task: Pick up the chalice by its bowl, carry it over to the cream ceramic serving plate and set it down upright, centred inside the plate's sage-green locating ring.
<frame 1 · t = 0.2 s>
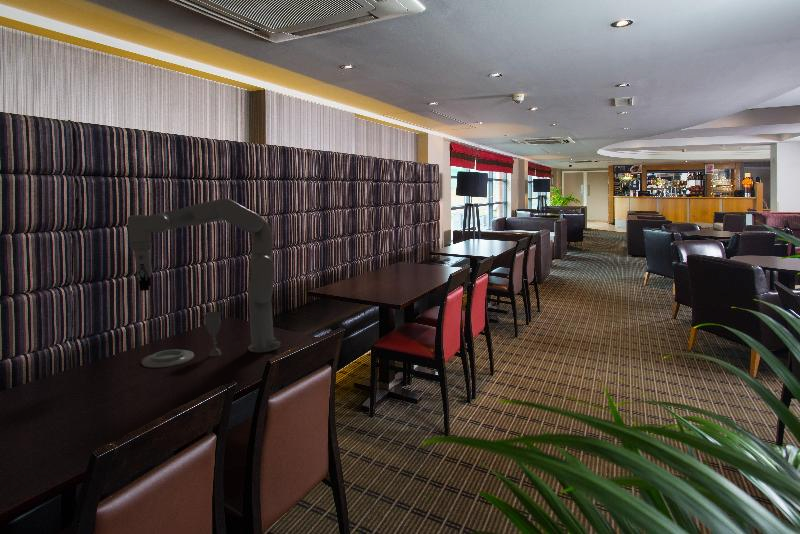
hand: (145, 288, 204), 31 cm above the table, tool pointing down, fingers open, 9 cm apart
plate: (168, 359, 211), on the table
chalice: (215, 354, 216), on the table
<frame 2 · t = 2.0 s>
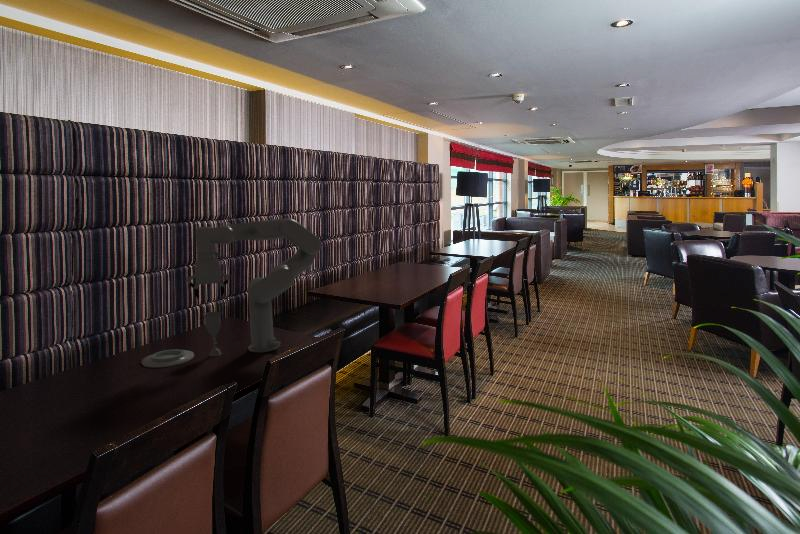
hand: (210, 296, 212), 25 cm above the table, tool pointing down, fingers open, 9 cm apart
nothing on the table moved.
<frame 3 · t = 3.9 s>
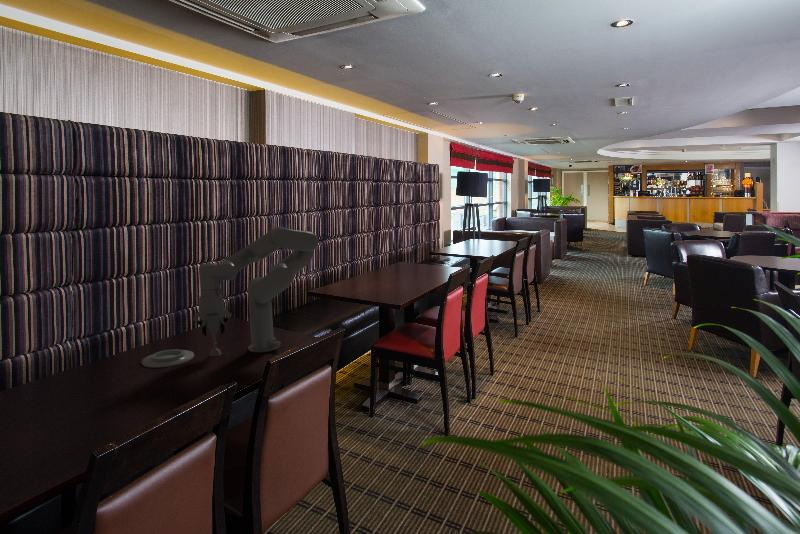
hand: (213, 333, 215), 9 cm above the table, tool pointing down, fingers closed on chalice, 6 cm apart
chalice: (215, 354, 216), on the table, touching gripper
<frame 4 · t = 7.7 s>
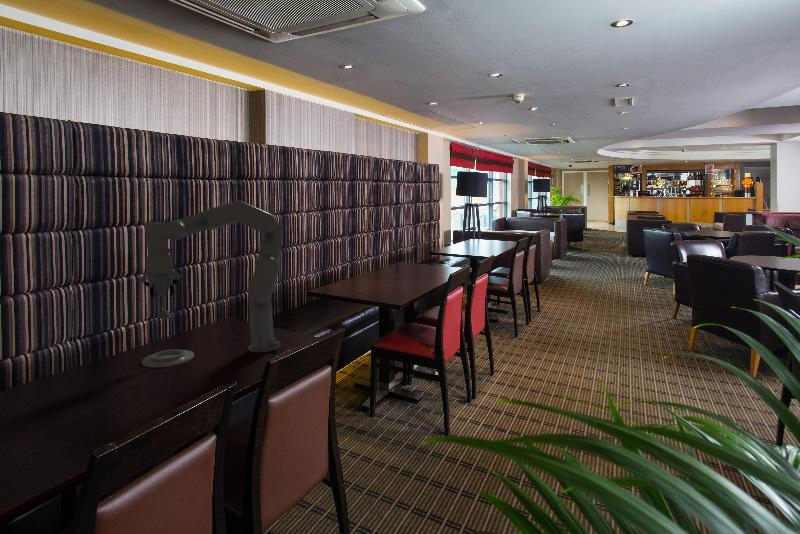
hand: (162, 295, 207), 27 cm above the table, tool pointing down, fingers closed on chalice, 6 cm apart
chalice: (164, 317, 208), point 18 cm above the table, touching gripper
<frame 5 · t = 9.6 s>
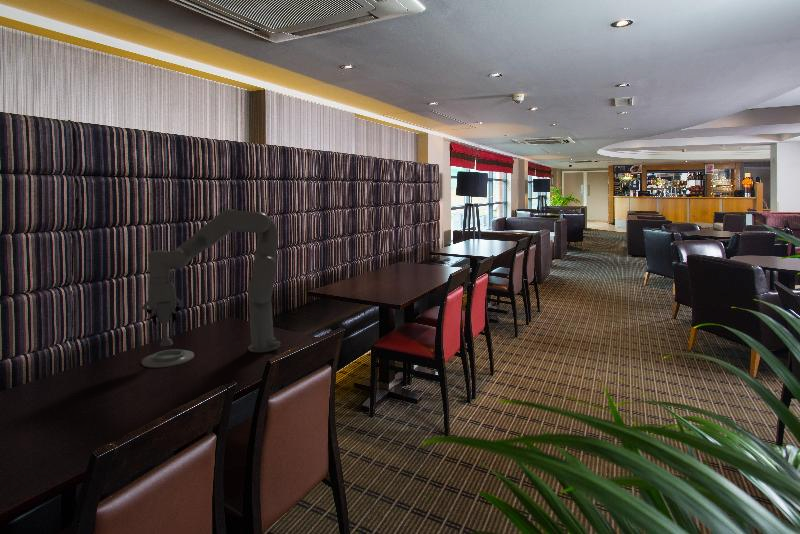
hand: (164, 323, 209), 16 cm above the table, tool pointing down, fingers closed on chalice, 6 cm apart
chalice: (166, 344, 210), point 6 cm above the table, touching gripper
when the fingers open (11 cm above the table, at t = 11.4 s): chalice drops 1 cm, resting on plate.
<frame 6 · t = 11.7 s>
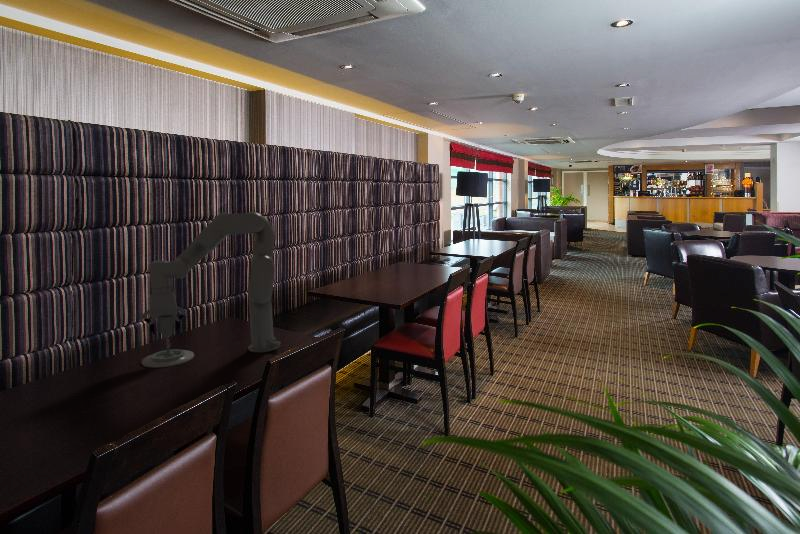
hand: (165, 331, 209), 12 cm above the table, tool pointing down, fingers open, 8 cm apart
chalice: (169, 357, 211), point 1 cm above the table, touching plate
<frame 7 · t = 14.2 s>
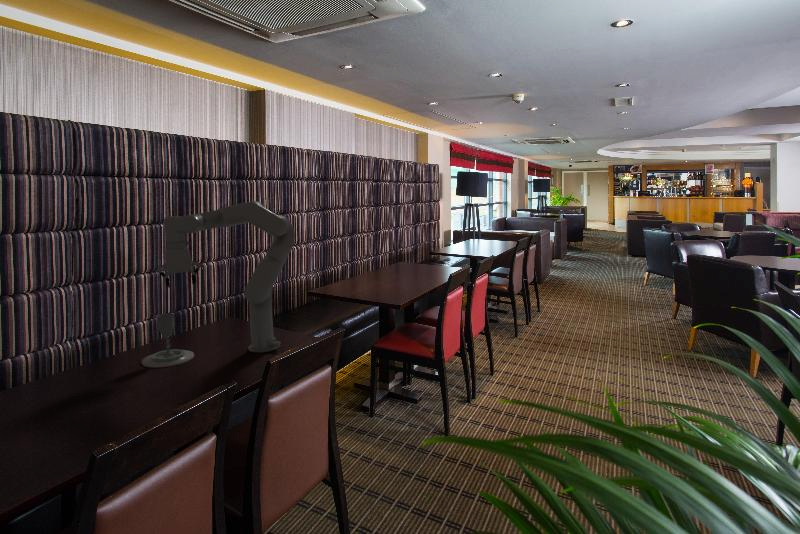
hand: (181, 285, 214), 30 cm above the table, tool pointing down, fingers open, 9 cm apart
nothing on the table moved.
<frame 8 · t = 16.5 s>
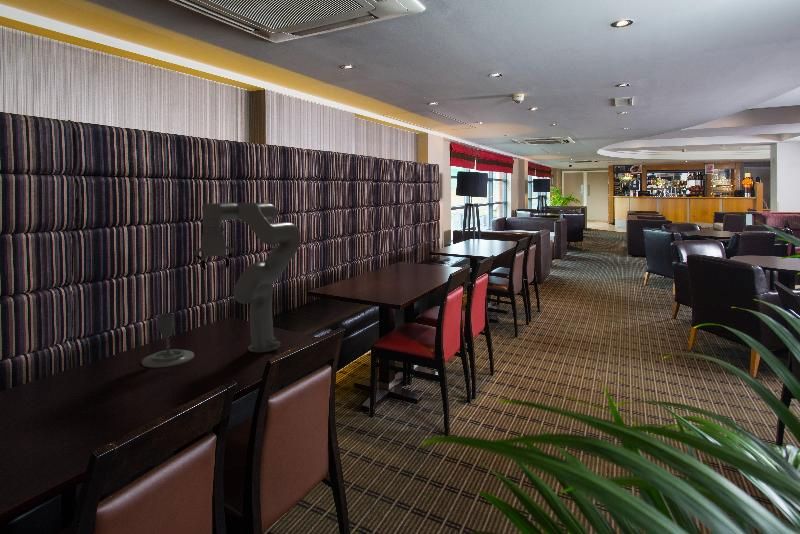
hand: (215, 268, 230), 34 cm above the table, tool pointing down, fingers open, 9 cm apart
nothing on the table moved.
at the end: chalice 0.3 cm off-centre on the plate, point 0.6 cm above the plate's base; chalice tilted 0°; chalice touching plate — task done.
